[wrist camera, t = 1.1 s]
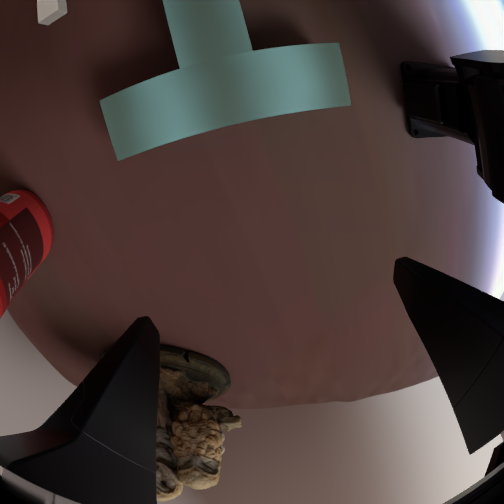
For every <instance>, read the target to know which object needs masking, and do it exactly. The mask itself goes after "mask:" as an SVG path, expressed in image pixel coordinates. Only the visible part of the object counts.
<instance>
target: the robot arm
mask: <svg viewBox="0 0 504 504" xmlns="http://www.w3.org/2000/svg"><path fill="white" fill-rule="evenodd" d="M450 59H451V62H452V64H453V65H454V66H455V68H453V67H447V66H441V65H435V64H427V63H419V62H409V61H405V62H402V63H401V72H402V77H403V84H404V86H403V87H404V94H405V102H406V110H407V116H408V127H409V134H410V136H411V137H414V138H425V137H444V136H450V137H453V138H456V139H459V140H461V141H464V142H467V143H470V144H472V145H475V151H476V158H477V173H478V175H479V176H480V177H481V178H482V179H483V180H484V181H485V183H486V184H487V186H488V187H489V188H490V189H491V190H492V195H493V196H494V197H495V198H496V199H497V200H499V201H500V202H502V203H504V51H503V50H482V51H476V52H471V53H466V54H461V55H456V56H452V57H450ZM406 65H407V66H408V70H407V69H406ZM414 130H416V133H415V134H414ZM393 280H394V284H395V286H396V288H397V290H398V293H399V295H400V297H401V299H402V302H403V304H404V306H405V309H406V311H407V313H408V316H409V318H410V320H411V321H412V323H413V325H414V327H415V329H416V331H417V333H418V335H419V336H420V338H421V340H422V342H423V344H424V346H425V348H426V350H427V352H428V354H429V356H430V358H431V360H432V362H433V364H434V366H435V369H436V371H437V373H438V375H439V377H440V379H441V382H442V384H443V386H444V388H445V390H446V393H447V395H448V398H449V400H450V402H451V405H452V407H453V410H454V413H455V415H456V418H457V420H458V423H459V426H460V428H461V431H462V434H463V437H464V440H465V443H466V446H467V448H468V451H469V454H472V453H474V452H475V451H476V450H478V449H480V448H481V447H483V446H484V445H485V444H487V443H488V442H489V441H491V440H492V439H494V438H495V437H496V436H498V435H499V434H501V436H502V438H503V442H502V443H501V444H499V445H498V446H497V447H495V448H494V451H493V454H492V457H491V460H490V463H489V465H488V468H487V471H486V473H485V477H484V478H483V479H481V480H480V481H478V482H477V483H475V484H474V485H473V486H471V487H470V488H468V489H467V490H465V491H463V492H462V493H460V494H459V495H457V496H455V497H454V498H452V499H450V500H449V501H447V502H445V503H443V504H504V301H501V300H499V299H497V298H495V297H493V296H491V295H489V294H487V293H485V292H483V291H482V292H481V290H479V289H477V288H475V287H472V286H470V285H468V284H466V283H464V282H462V281H460V280H458V279H455V278H453V277H451V276H449V275H447V274H445V273H442V272H440V271H438V270H436V269H433V268H431V267H429V266H427V265H424V264H422V263H420V262H417V261H415V260H413V259H410V258H408V257H402V258H398V259H396V261H395V266H394V275H393ZM159 381H160V336H159V332H158V330H157V328H156V327H155V325H154V324H153V322H152V320H151V319H150V318H149V317H148V316H144V317H139V318H137V319H136V320H135V321H134V322H133V324H132V325H131V326H130V327H129V328H128V329H127V330H126V331H125V332H124V334H123V335H122V336H121V337H120V338H119V339H118V340H117V341H116V343H115V344H114V345H113V346H112V347H111V348H110V349H109V351H108V352H107V353H106V354H105V355H104V356H103V357H102V359H101V360H100V361H99V362H98V363H97V364H96V366H95V367H94V368H93V369H92V370H91V371H90V373H89V374H88V375H87V376H86V377H85V378H84V380H83V382H81V383H80V384H79V386H78V387H77V388H76V389H75V390H74V392H73V393H72V394H71V395H70V396H69V397H68V398H67V399H66V400H65V402H64V403H63V404H62V405H61V406H60V407H59V408H58V409H57V410H56V411H55V412H54V413H53V414H52V415H51V416H50V417H49V418H48V419H47V421H46V422H45V423H44V424H43V425H42V426H40V427H39V428H37V429H35V430H33V431H30V432H25V433H19V434H14V435H7V436H0V466H2V467H3V468H4V469H3V474H2V476H1V475H0V504H157V491H156V474H155V473H156V434H157V411H158V394H159Z"/></svg>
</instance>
